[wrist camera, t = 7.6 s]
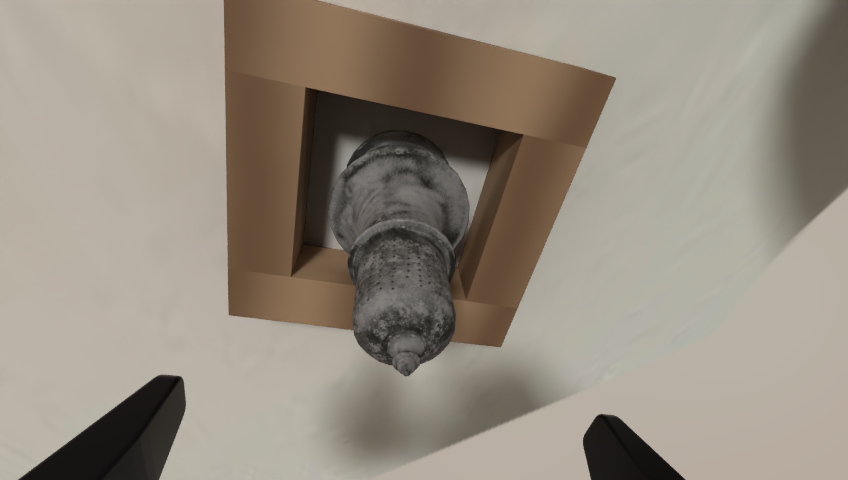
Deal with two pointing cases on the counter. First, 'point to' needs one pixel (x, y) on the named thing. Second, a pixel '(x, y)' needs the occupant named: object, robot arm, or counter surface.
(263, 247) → the well block
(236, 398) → the counter surface
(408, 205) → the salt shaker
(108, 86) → the counter surface
